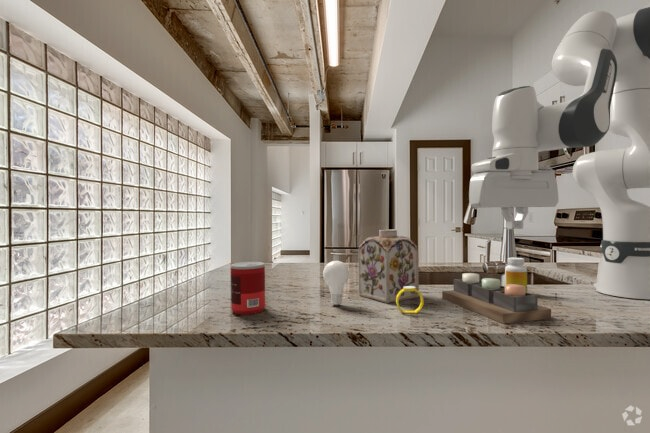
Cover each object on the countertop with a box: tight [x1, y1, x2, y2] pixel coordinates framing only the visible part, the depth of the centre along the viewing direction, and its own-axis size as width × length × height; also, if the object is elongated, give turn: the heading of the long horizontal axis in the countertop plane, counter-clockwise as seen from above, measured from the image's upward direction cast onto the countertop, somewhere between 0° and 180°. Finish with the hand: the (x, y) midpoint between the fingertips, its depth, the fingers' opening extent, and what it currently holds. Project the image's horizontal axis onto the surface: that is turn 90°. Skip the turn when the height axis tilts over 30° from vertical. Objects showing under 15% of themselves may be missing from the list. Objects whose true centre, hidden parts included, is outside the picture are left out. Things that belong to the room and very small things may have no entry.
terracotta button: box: [504, 284, 525, 297], centre depth 81 cm, size 4×4×3 cm
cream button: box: [461, 272, 480, 283], centre depth 96 cm, size 4×4×3 cm
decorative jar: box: [357, 228, 420, 304], centre depth 101 cm, size 12×12×18 cm
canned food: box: [230, 261, 266, 316], centre depth 89 cm, size 8×8×11 cm
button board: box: [441, 278, 552, 325], centre depth 88 cm, size 12×22×5 cm, turn 15°
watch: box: [395, 286, 425, 315], centre depth 85 cm, size 6×3×6 cm, turn 89°
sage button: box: [481, 277, 501, 289], centre depth 88 cm, size 4×4×3 cm
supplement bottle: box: [504, 256, 528, 293], centre depth 102 cm, size 5×5×10 cm
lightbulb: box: [322, 260, 350, 307], centre depth 92 cm, size 6×6×11 cm
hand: (514, 228), depth 81 cm, fingers closed
